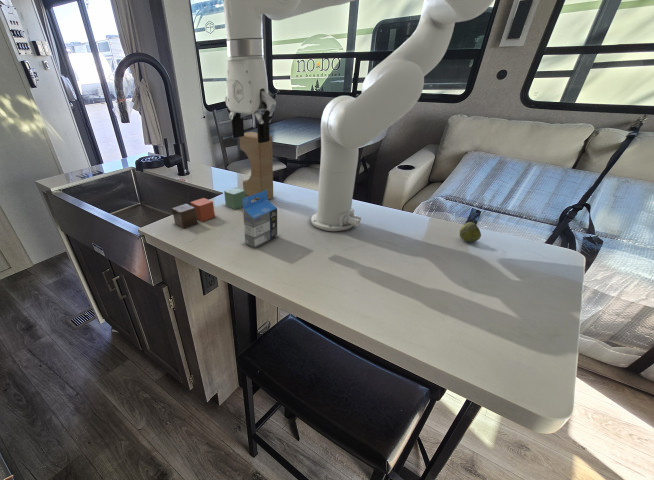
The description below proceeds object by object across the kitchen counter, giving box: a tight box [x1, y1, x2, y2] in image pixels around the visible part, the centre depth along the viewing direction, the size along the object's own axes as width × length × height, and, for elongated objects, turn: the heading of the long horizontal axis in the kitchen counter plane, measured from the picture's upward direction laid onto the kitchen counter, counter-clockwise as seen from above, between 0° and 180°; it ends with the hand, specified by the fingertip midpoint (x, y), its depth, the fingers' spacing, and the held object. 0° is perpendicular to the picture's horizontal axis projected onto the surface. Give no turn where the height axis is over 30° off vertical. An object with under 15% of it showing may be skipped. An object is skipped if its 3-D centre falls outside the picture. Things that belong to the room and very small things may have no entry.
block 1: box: [171, 203, 199, 229], centre depth 94 cm, size 5×5×5 cm
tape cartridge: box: [242, 190, 278, 249], centre depth 81 cm, size 9×4×12 cm, turn 135°
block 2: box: [190, 197, 216, 223], centre depth 97 cm, size 5×5×5 cm
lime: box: [459, 221, 482, 243], centre depth 78 cm, size 4×5×5 cm
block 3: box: [223, 187, 247, 210], centre depth 104 cm, size 5×5×5 cm
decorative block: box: [238, 131, 274, 201], centre depth 105 cm, size 11×6×20 cm, turn 38°
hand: (250, 139), depth 76 cm, fingers open, 9 cm apart
